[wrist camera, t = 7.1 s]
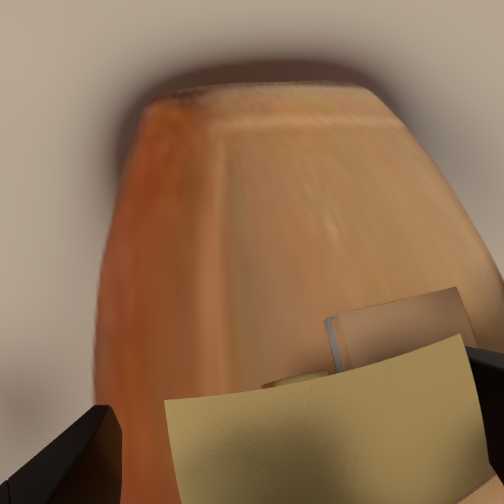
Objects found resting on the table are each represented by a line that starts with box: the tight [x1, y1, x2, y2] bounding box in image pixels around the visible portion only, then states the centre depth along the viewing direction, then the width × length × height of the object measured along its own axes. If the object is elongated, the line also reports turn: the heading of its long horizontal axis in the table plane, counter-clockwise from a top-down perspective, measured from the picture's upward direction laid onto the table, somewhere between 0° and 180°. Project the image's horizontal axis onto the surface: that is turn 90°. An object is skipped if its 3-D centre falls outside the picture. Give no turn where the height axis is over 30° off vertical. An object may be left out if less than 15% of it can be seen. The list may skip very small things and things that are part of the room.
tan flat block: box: [324, 287, 496, 504], centre depth 12 cm, size 12×8×2 cm
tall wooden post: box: [164, 333, 490, 504], centre depth 8 cm, size 3×5×10 cm
